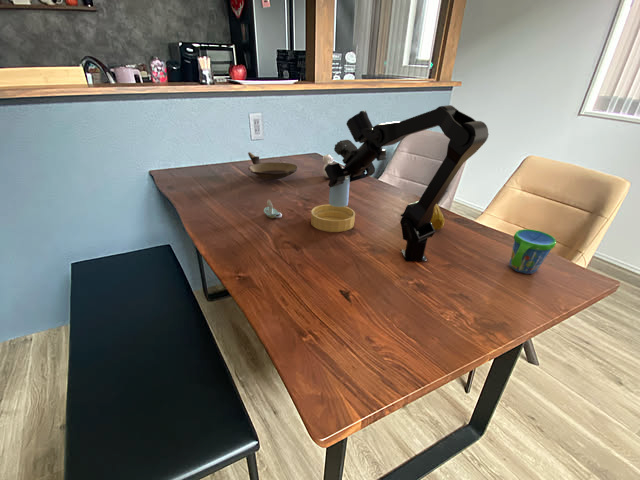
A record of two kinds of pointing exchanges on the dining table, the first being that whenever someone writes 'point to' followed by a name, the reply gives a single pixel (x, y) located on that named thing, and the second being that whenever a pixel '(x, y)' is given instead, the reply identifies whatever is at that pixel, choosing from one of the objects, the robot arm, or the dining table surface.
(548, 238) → the snack cup
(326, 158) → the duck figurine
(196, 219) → the dining table surface
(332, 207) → the bowl
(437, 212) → the food
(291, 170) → the oil lamp
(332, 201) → the baby bottle
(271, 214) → the pacifier
